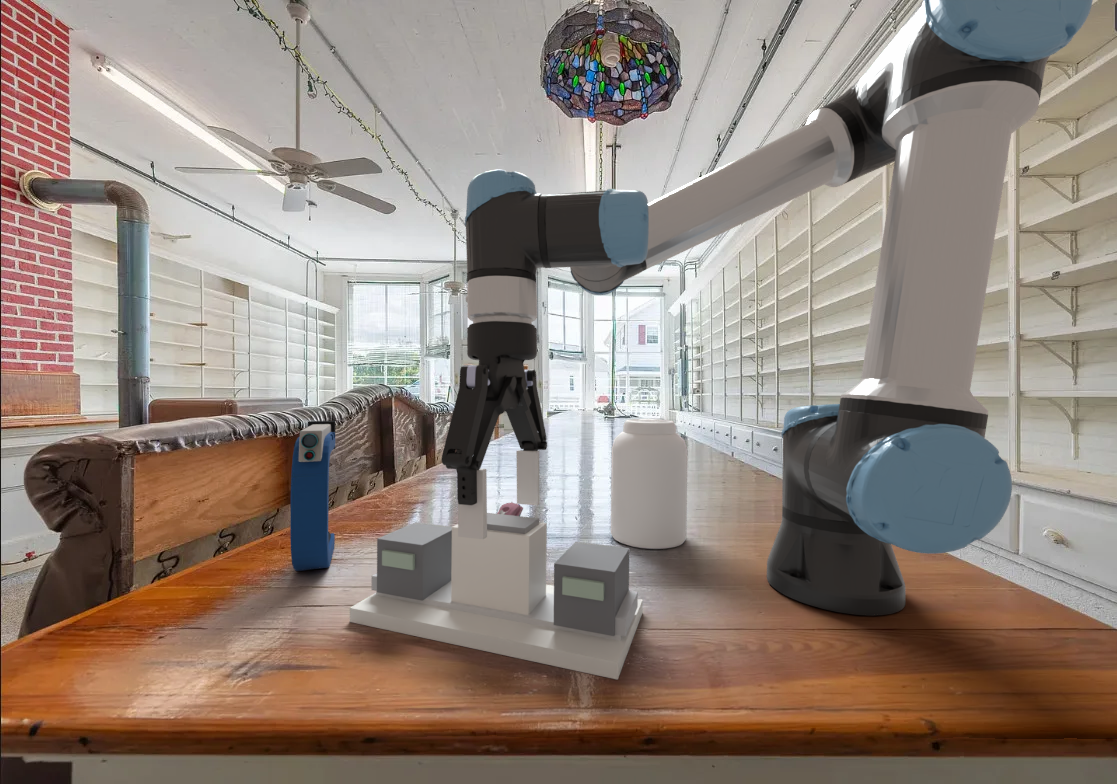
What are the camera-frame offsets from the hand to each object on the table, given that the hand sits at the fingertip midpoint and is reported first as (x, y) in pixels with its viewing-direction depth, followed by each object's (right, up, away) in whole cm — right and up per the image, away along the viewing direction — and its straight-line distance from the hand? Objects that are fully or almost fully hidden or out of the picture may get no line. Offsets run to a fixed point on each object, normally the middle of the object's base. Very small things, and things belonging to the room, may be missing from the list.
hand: (503, 518), depth 52 cm
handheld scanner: (-29, -11, +16) cm, 35 cm away
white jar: (+21, -11, +28) cm, 37 cm away
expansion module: (-1, -9, 0) cm, 9 cm away
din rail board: (0, -11, 0) cm, 11 cm away
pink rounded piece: (-4, -11, +28) cm, 30 cm away
